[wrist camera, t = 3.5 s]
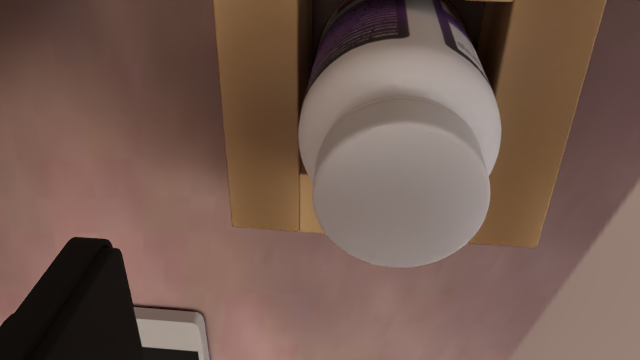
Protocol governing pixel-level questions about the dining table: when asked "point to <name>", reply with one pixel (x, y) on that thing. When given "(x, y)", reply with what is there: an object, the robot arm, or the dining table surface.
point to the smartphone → (172, 334)
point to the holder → (500, 69)
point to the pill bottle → (399, 132)
